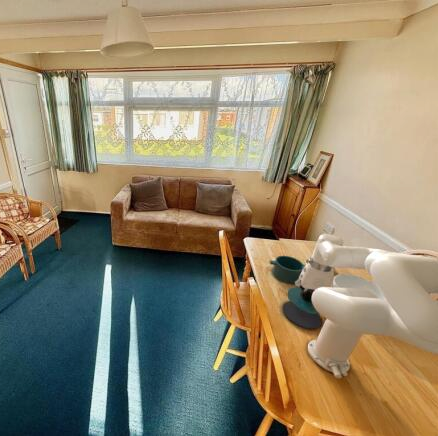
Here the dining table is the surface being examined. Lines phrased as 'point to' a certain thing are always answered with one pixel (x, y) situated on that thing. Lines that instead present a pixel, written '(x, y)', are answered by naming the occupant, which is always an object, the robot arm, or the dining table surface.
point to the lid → (299, 302)
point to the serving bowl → (356, 284)
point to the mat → (301, 316)
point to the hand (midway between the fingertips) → (307, 298)
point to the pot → (287, 269)
